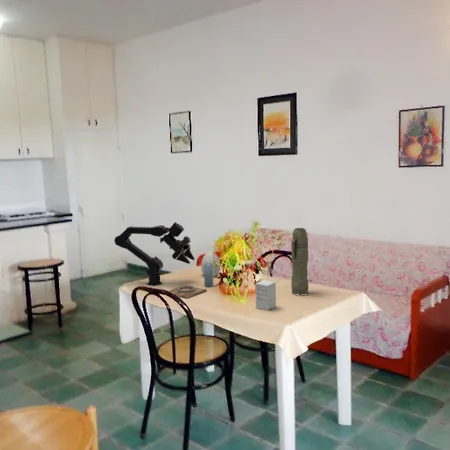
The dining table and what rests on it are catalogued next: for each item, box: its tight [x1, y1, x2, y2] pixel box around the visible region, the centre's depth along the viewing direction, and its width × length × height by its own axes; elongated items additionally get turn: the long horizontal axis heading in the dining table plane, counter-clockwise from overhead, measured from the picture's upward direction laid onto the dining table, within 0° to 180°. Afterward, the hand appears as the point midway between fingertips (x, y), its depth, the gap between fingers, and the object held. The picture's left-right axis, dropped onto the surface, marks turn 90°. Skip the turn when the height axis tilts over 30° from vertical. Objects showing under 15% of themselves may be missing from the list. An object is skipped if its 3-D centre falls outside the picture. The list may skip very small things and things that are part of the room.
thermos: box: [290, 227, 309, 296], centre depth 260 cm, size 9×12×35 cm
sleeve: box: [203, 263, 214, 288], centre depth 279 cm, size 5×5×13 cm
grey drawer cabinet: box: [255, 279, 277, 311], centre depth 239 cm, size 7×7×13 cm
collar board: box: [169, 284, 208, 300], centre depth 268 cm, size 16×16×2 cm
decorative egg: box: [200, 251, 221, 278], centre depth 303 cm, size 12×12×15 cm
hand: (191, 261), depth 281 cm, fingers open, 9 cm apart
